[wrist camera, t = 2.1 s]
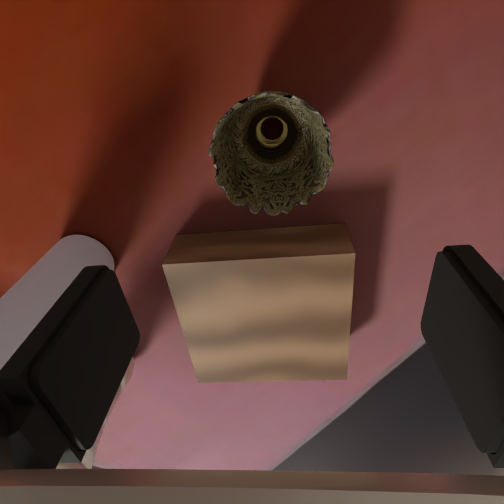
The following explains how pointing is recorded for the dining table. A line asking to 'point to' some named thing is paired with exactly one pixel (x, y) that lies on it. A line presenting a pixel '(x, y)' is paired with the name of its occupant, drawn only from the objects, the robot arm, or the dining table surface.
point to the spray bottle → (45, 288)
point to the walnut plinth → (264, 302)
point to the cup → (271, 153)
